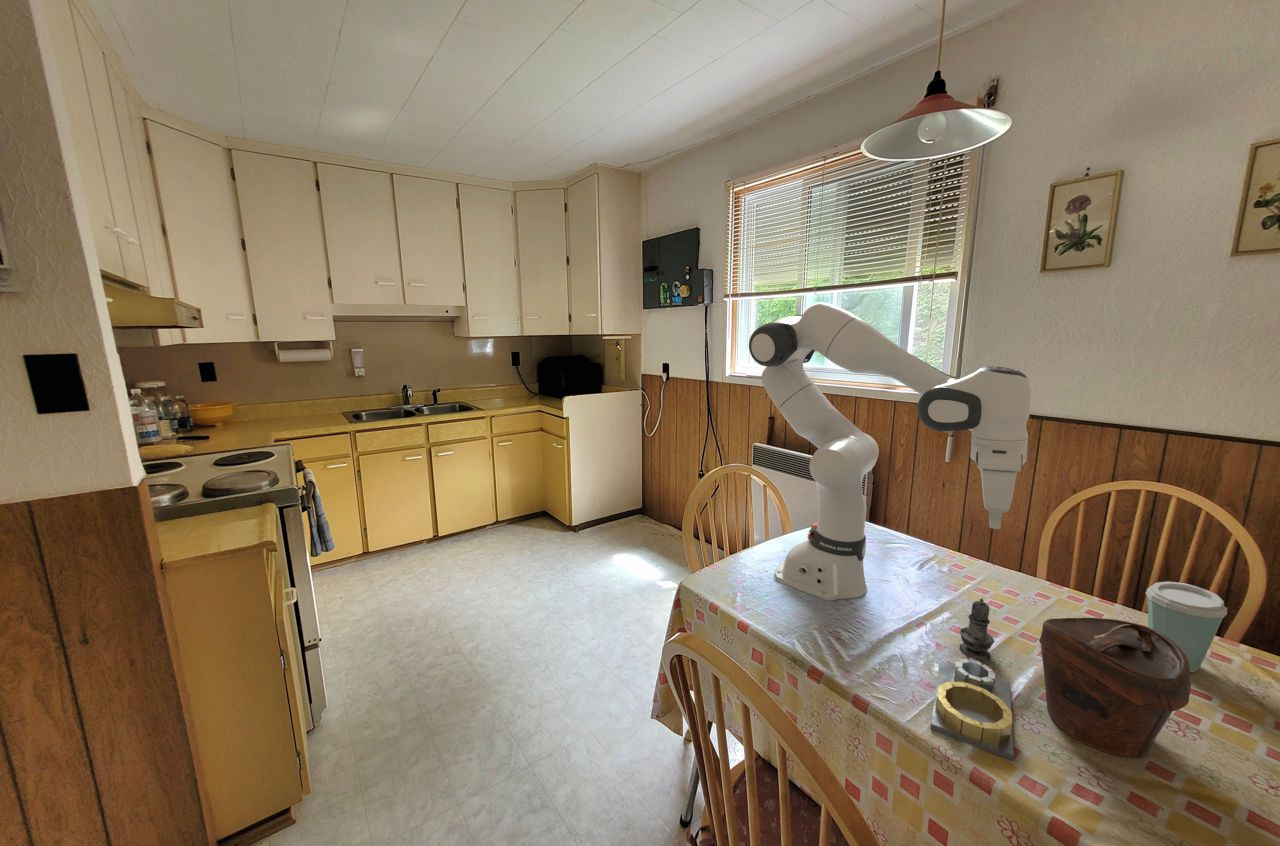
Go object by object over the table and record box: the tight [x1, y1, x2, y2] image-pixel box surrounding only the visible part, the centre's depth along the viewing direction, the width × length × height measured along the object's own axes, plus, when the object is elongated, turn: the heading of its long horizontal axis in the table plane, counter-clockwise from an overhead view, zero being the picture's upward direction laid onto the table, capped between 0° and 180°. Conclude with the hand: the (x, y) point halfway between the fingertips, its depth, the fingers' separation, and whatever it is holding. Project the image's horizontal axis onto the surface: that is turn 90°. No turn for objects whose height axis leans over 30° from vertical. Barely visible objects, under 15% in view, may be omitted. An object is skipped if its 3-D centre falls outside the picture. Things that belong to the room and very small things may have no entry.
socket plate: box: [930, 658, 1015, 762], centre depth 87 cm, size 11×19×4 cm, turn 145°
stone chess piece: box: [959, 597, 995, 661], centre depth 100 cm, size 6×6×12 cm
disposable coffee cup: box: [1145, 581, 1228, 673], centre depth 96 cm, size 11×11×15 cm
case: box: [1038, 617, 1192, 758], centre depth 81 cm, size 18×20×18 cm
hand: (994, 519), depth 98 cm, fingers open, 8 cm apart
